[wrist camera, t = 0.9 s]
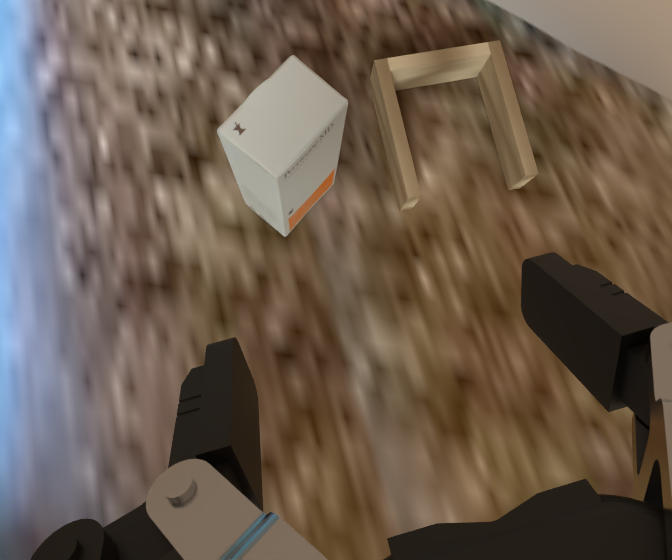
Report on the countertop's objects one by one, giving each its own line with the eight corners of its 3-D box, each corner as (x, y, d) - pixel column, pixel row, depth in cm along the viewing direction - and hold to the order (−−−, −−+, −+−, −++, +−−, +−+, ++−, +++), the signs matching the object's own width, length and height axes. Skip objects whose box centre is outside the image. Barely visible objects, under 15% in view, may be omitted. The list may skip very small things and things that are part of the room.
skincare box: (286, 239, 35) (274, 182, 23) (244, 204, 35) (211, 129, 23) (337, 183, 36) (351, 99, 24) (296, 148, 36) (290, 49, 24)
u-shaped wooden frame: (399, 210, 36) (407, 198, 33) (368, 83, 37) (374, 60, 34) (519, 188, 36) (538, 173, 34) (484, 64, 38) (499, 40, 35)
